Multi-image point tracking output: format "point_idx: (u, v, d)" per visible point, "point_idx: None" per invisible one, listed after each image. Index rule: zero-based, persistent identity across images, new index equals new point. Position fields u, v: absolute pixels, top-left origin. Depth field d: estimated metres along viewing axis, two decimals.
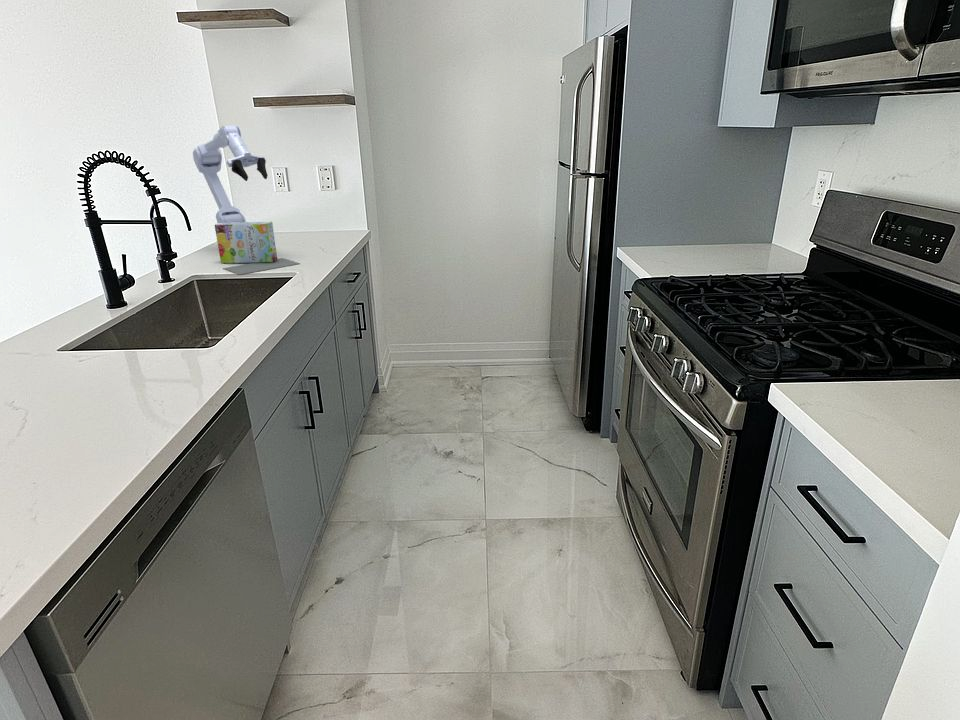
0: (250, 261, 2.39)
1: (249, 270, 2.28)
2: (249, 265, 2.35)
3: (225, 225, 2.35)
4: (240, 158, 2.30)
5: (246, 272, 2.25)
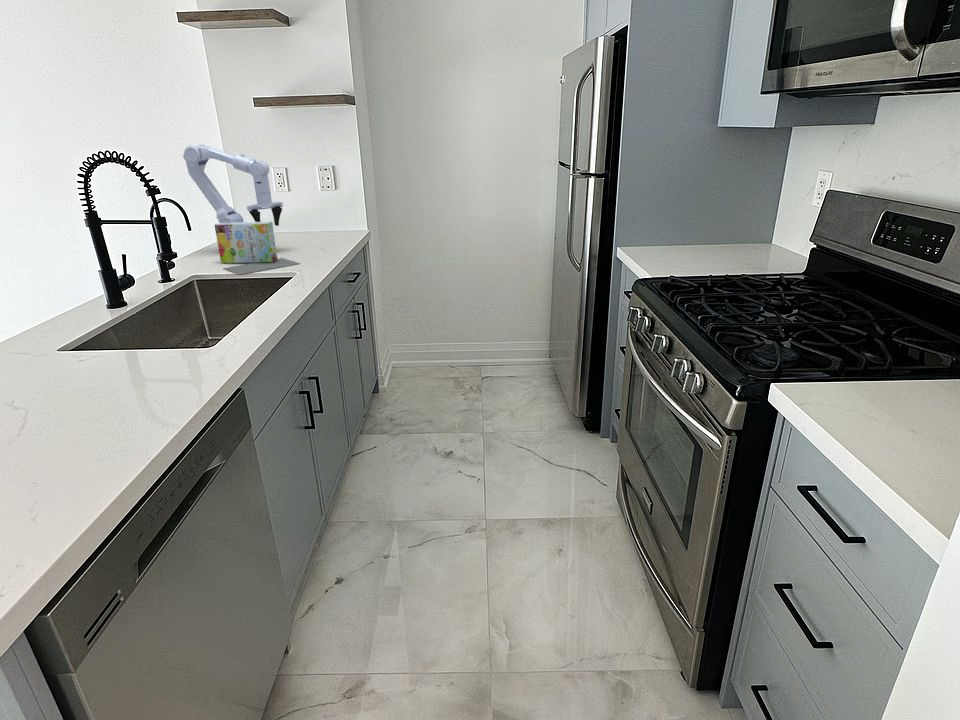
0: (250, 261, 2.39)
1: (249, 270, 2.28)
2: (249, 265, 2.35)
3: (225, 225, 2.35)
4: (260, 207, 2.50)
5: (246, 272, 2.25)
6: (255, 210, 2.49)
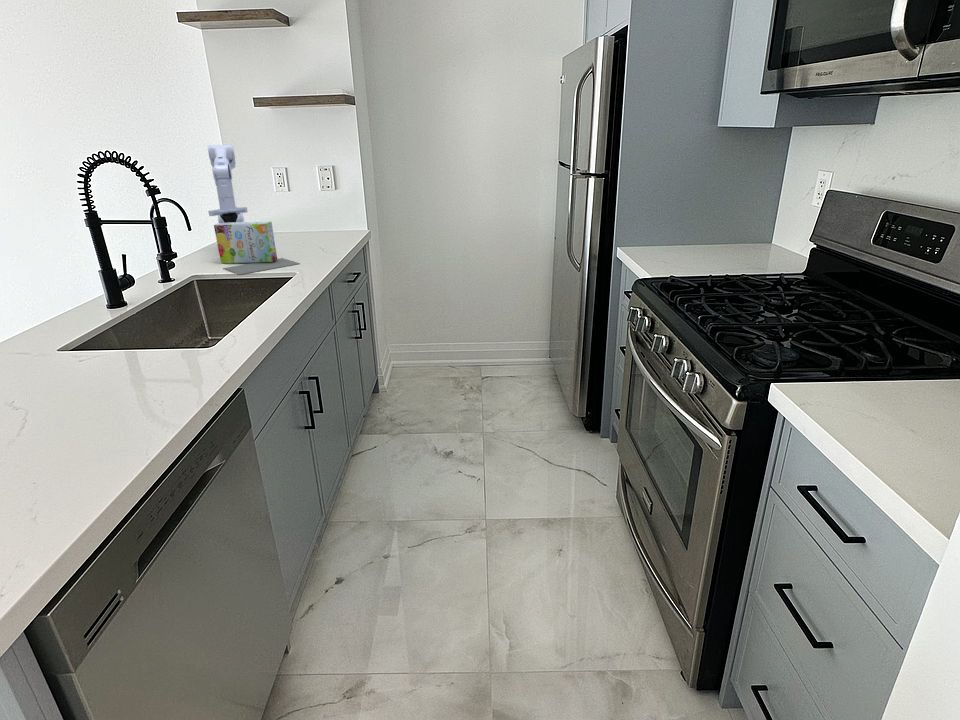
0: (250, 261, 2.39)
1: (249, 270, 2.28)
2: (249, 265, 2.35)
3: (224, 225, 2.35)
4: (223, 212, 2.38)
5: (246, 272, 2.25)
6: None
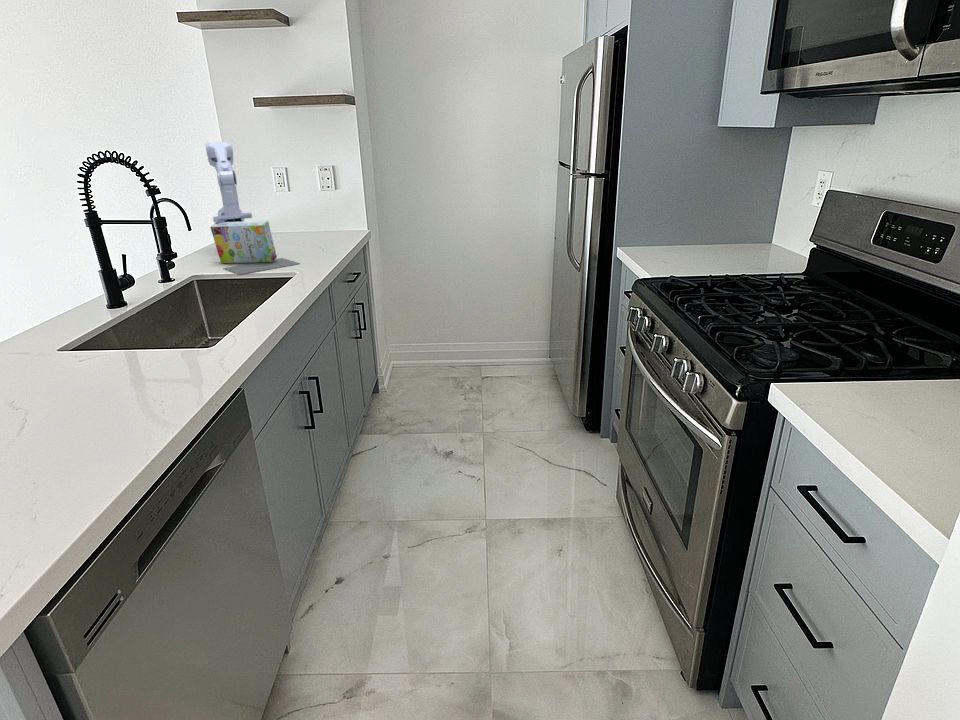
0: (250, 261, 2.39)
1: (249, 270, 2.28)
2: (249, 265, 2.35)
3: (221, 227, 2.33)
4: (228, 218, 2.37)
5: (246, 272, 2.25)
6: (222, 221, 2.36)
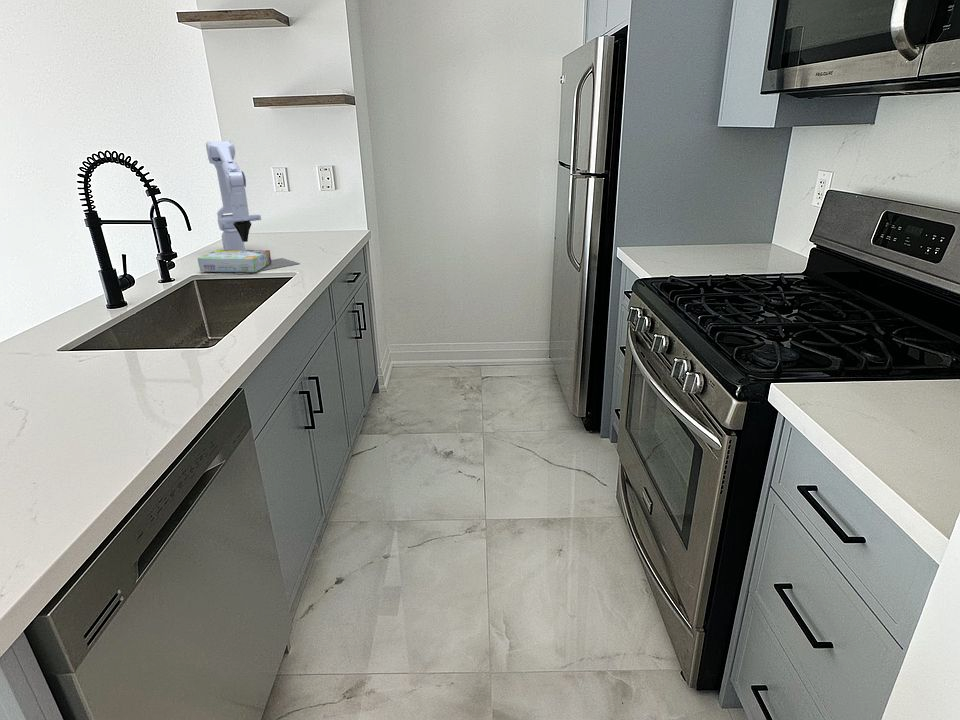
0: None
1: None
2: None
3: (212, 271, 2.26)
4: (236, 220, 2.32)
5: (246, 272, 2.25)
6: (230, 224, 2.31)
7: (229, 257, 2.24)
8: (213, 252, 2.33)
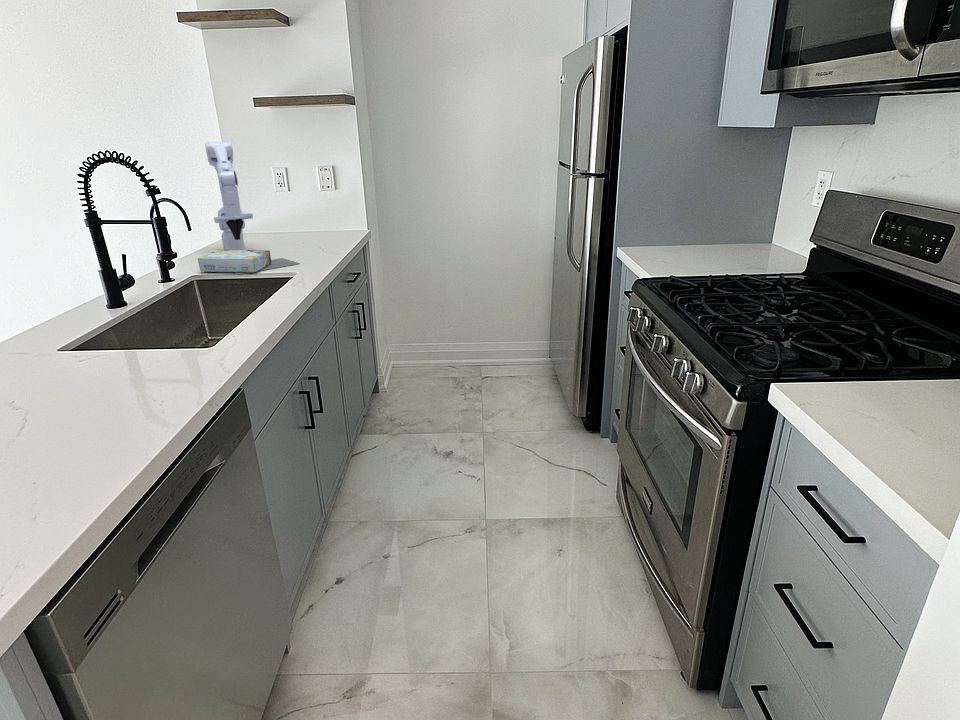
0: None
1: None
2: None
3: (212, 271, 2.26)
4: (229, 218, 2.36)
5: (246, 272, 2.25)
6: (223, 222, 2.36)
7: (229, 257, 2.24)
8: (213, 252, 2.33)
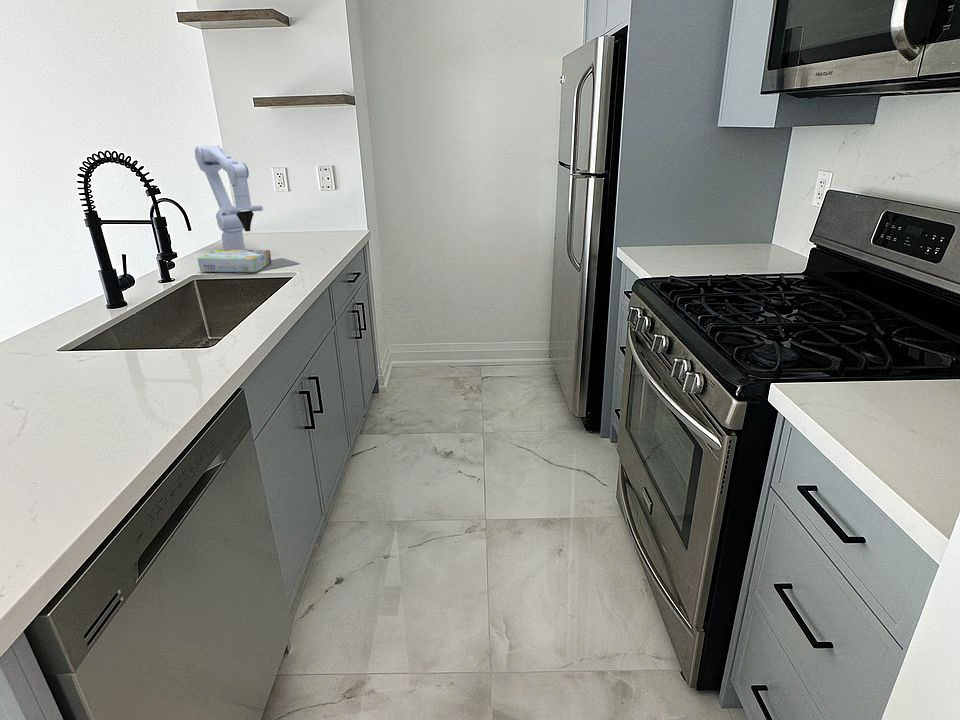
0: None
1: None
2: None
3: (212, 271, 2.26)
4: (239, 210, 2.42)
5: (246, 272, 2.25)
6: (233, 214, 2.41)
7: (229, 257, 2.24)
8: (213, 252, 2.33)
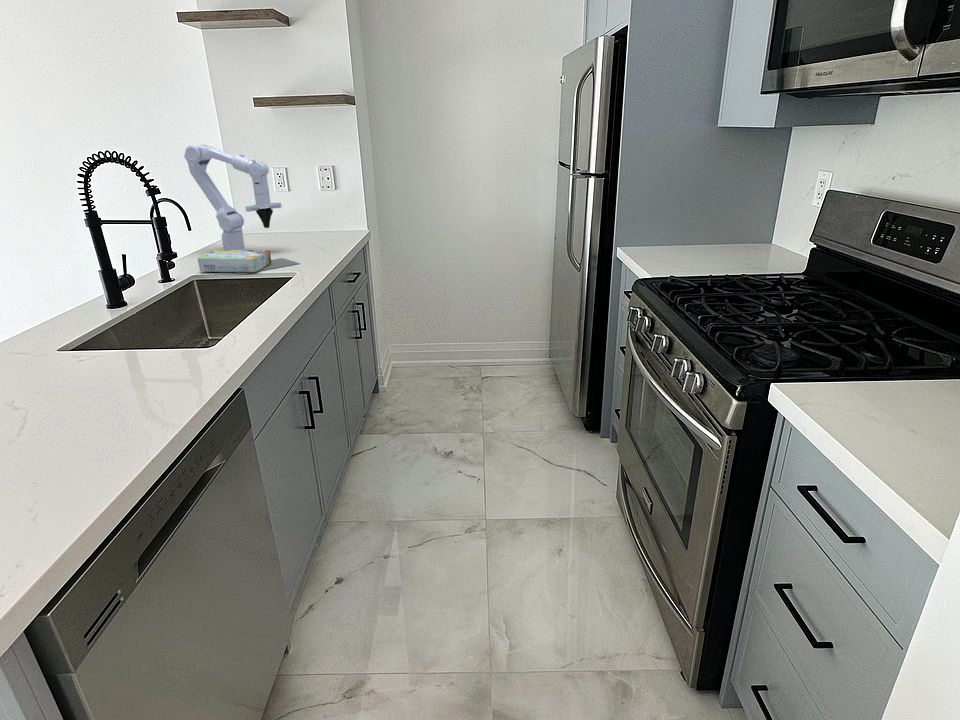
0: None
1: None
2: None
3: (212, 271, 2.26)
4: (259, 207, 2.49)
5: (246, 272, 2.25)
6: None
7: (229, 257, 2.24)
8: (213, 252, 2.33)
